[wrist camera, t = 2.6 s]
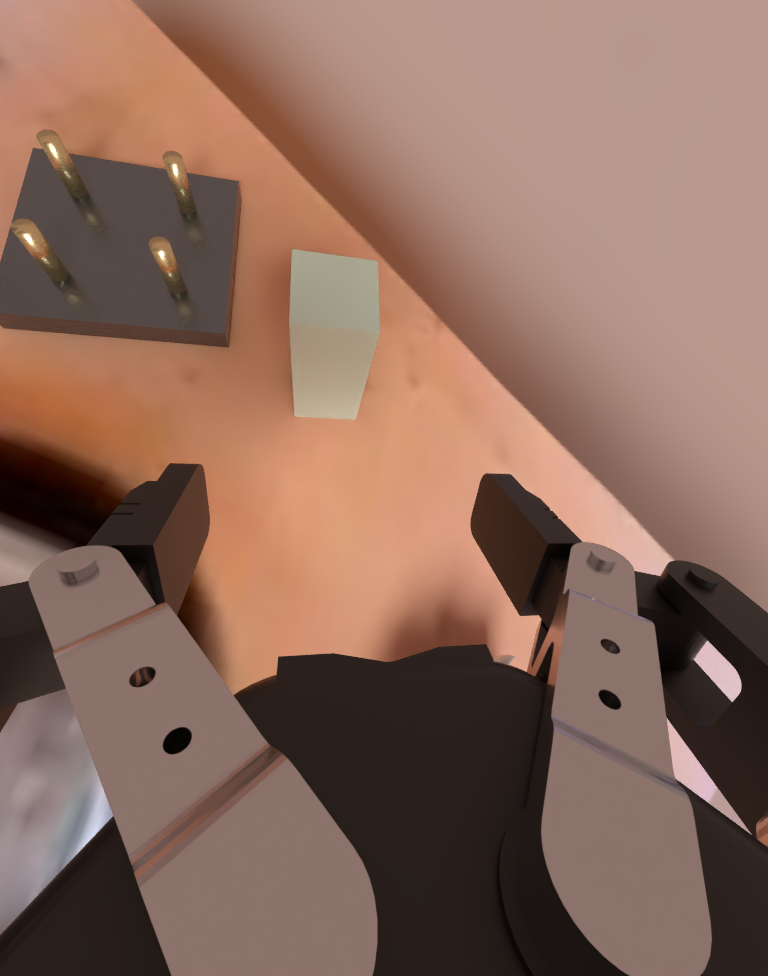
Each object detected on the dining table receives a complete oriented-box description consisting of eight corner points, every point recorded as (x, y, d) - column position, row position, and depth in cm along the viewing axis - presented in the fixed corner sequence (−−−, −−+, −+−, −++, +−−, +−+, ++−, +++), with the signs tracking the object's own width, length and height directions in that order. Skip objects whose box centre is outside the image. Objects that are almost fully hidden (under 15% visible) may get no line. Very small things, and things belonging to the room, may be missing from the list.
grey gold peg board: (3, 327, 26) (-64, 266, 21) (46, 169, 30) (-4, 87, 25) (228, 347, 28) (213, 296, 24) (241, 199, 32) (230, 131, 27)
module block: (294, 416, 28) (289, 323, 19) (296, 362, 29) (291, 249, 20) (355, 419, 29) (380, 332, 19) (354, 367, 30) (377, 260, 21)
